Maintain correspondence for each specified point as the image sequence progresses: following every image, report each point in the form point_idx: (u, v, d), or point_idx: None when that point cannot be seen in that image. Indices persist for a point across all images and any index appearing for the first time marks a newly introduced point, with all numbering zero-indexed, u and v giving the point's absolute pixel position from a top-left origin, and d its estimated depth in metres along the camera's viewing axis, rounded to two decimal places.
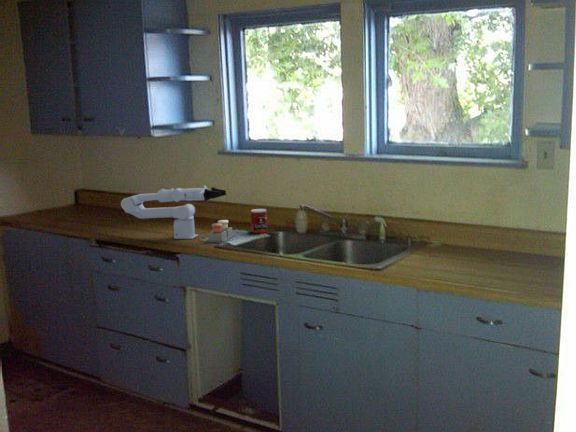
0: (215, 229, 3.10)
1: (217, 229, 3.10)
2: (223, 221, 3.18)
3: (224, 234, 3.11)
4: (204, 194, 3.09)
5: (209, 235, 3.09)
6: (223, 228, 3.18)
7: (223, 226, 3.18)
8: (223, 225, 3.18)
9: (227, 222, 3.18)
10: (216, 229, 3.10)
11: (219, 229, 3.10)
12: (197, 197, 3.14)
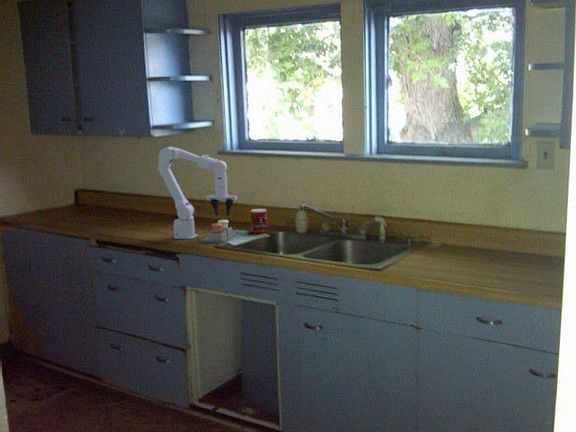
0: (215, 229, 3.10)
1: (217, 229, 3.10)
2: (223, 221, 3.18)
3: (224, 234, 3.11)
4: (232, 200, 3.16)
5: (209, 235, 3.09)
6: (223, 228, 3.18)
7: (223, 226, 3.18)
8: (223, 225, 3.18)
9: (227, 222, 3.18)
10: (216, 229, 3.10)
11: (219, 229, 3.10)
12: (225, 190, 3.15)
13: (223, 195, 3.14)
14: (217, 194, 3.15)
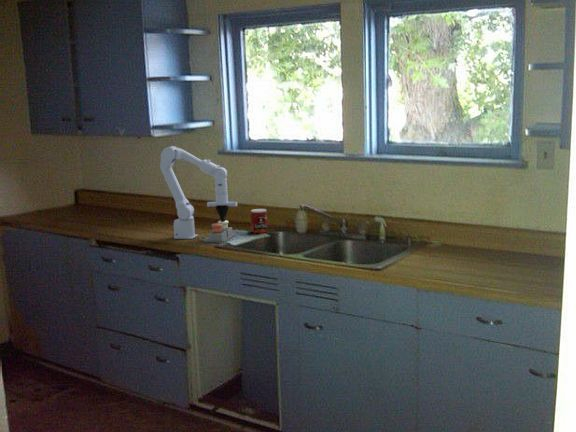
0: (215, 229, 3.10)
1: (217, 229, 3.10)
2: None
3: (224, 234, 3.11)
4: (227, 207, 3.18)
5: (209, 235, 3.09)
6: (223, 228, 3.18)
7: (223, 226, 3.18)
8: (223, 225, 3.18)
9: (227, 222, 3.18)
10: (216, 229, 3.10)
11: (219, 229, 3.10)
12: (225, 197, 3.15)
13: (223, 201, 3.15)
14: (217, 200, 3.15)
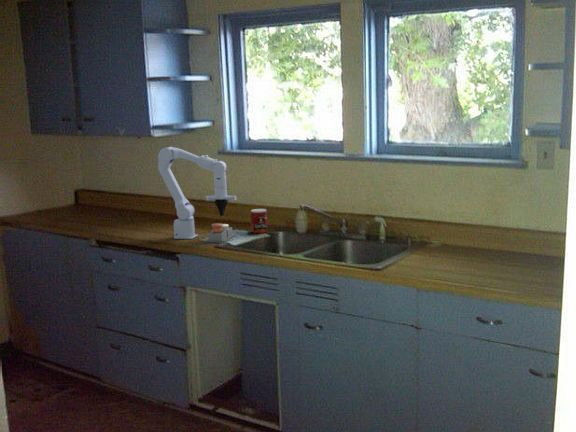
0: (215, 229, 3.10)
1: (217, 229, 3.10)
2: (223, 225, 3.18)
3: (224, 234, 3.11)
4: (226, 201, 3.16)
5: (209, 235, 3.09)
6: None
7: None
8: (223, 229, 3.18)
9: (227, 226, 3.18)
10: (216, 229, 3.10)
11: (219, 229, 3.10)
12: (224, 190, 3.14)
13: (222, 195, 3.14)
14: (216, 194, 3.14)
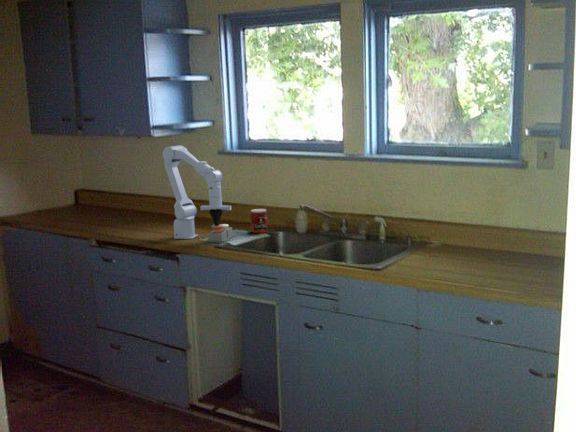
0: (215, 230, 3.10)
1: (217, 230, 3.10)
2: (223, 225, 3.18)
3: (224, 234, 3.11)
4: (221, 210, 3.10)
5: (209, 235, 3.09)
6: None
7: None
8: (223, 229, 3.18)
9: (227, 226, 3.18)
10: (216, 230, 3.10)
11: (219, 230, 3.10)
12: (219, 200, 3.07)
13: (217, 205, 3.07)
14: (211, 204, 3.07)
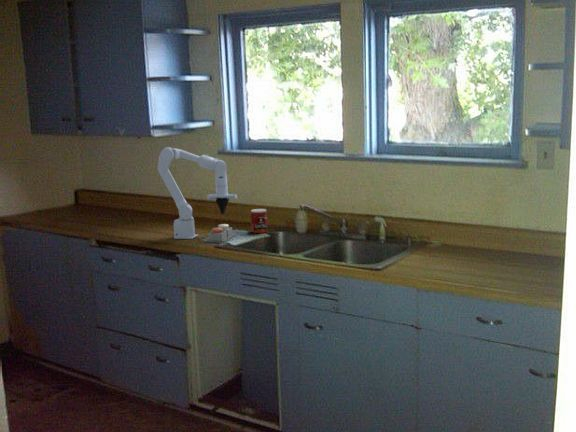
0: None
1: None
2: (223, 225, 3.18)
3: (224, 234, 3.11)
4: (227, 199, 3.21)
5: (209, 235, 3.09)
6: None
7: None
8: (223, 229, 3.18)
9: (227, 226, 3.18)
10: None
11: (219, 233, 3.10)
12: (225, 189, 3.18)
13: (223, 194, 3.18)
14: (217, 193, 3.18)
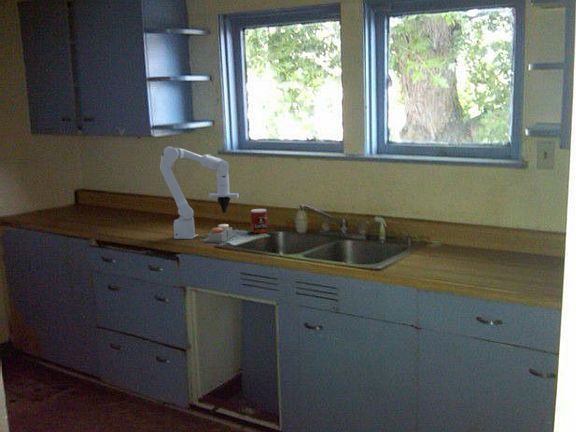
0: None
1: None
2: (223, 225, 3.18)
3: (224, 234, 3.11)
4: (229, 198, 3.24)
5: (209, 235, 3.09)
6: None
7: None
8: (223, 229, 3.18)
9: (227, 226, 3.18)
10: None
11: (219, 233, 3.10)
12: (227, 188, 3.22)
13: (225, 193, 3.21)
14: (219, 192, 3.22)
